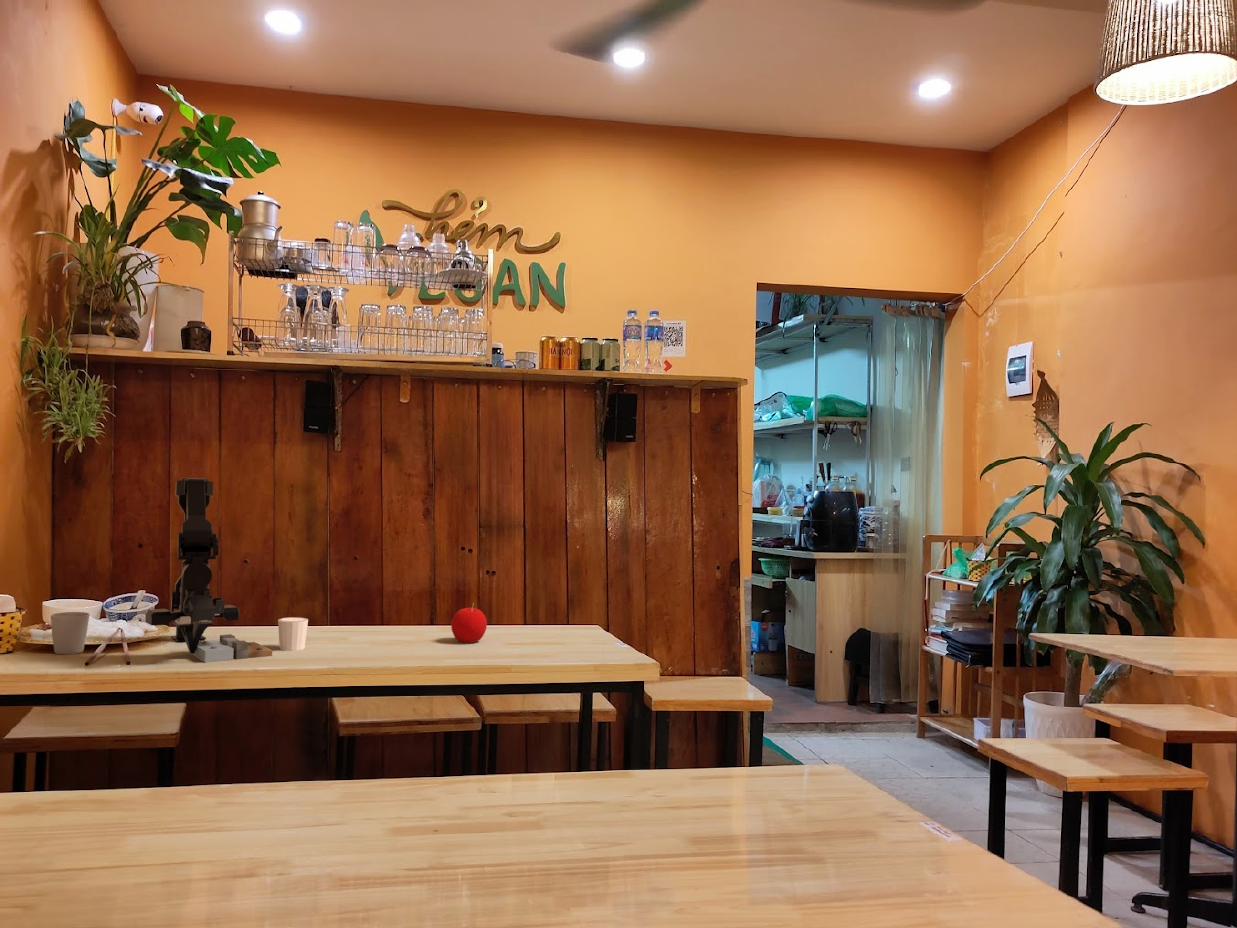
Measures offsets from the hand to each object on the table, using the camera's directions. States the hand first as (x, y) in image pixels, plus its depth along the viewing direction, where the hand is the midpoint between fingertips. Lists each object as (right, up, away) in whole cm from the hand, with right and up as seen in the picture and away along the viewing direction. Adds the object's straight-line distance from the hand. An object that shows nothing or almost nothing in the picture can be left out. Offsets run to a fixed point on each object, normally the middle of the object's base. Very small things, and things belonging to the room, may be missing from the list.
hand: (192, 653), depth 211 cm
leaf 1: (+4, -1, +3) cm, 5 cm away
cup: (-29, 0, +3) cm, 29 cm away
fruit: (+57, -3, +31) cm, 65 cm away
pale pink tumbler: (+17, -2, +15) cm, 23 cm away
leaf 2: (+9, -1, +8) cm, 12 cm away
